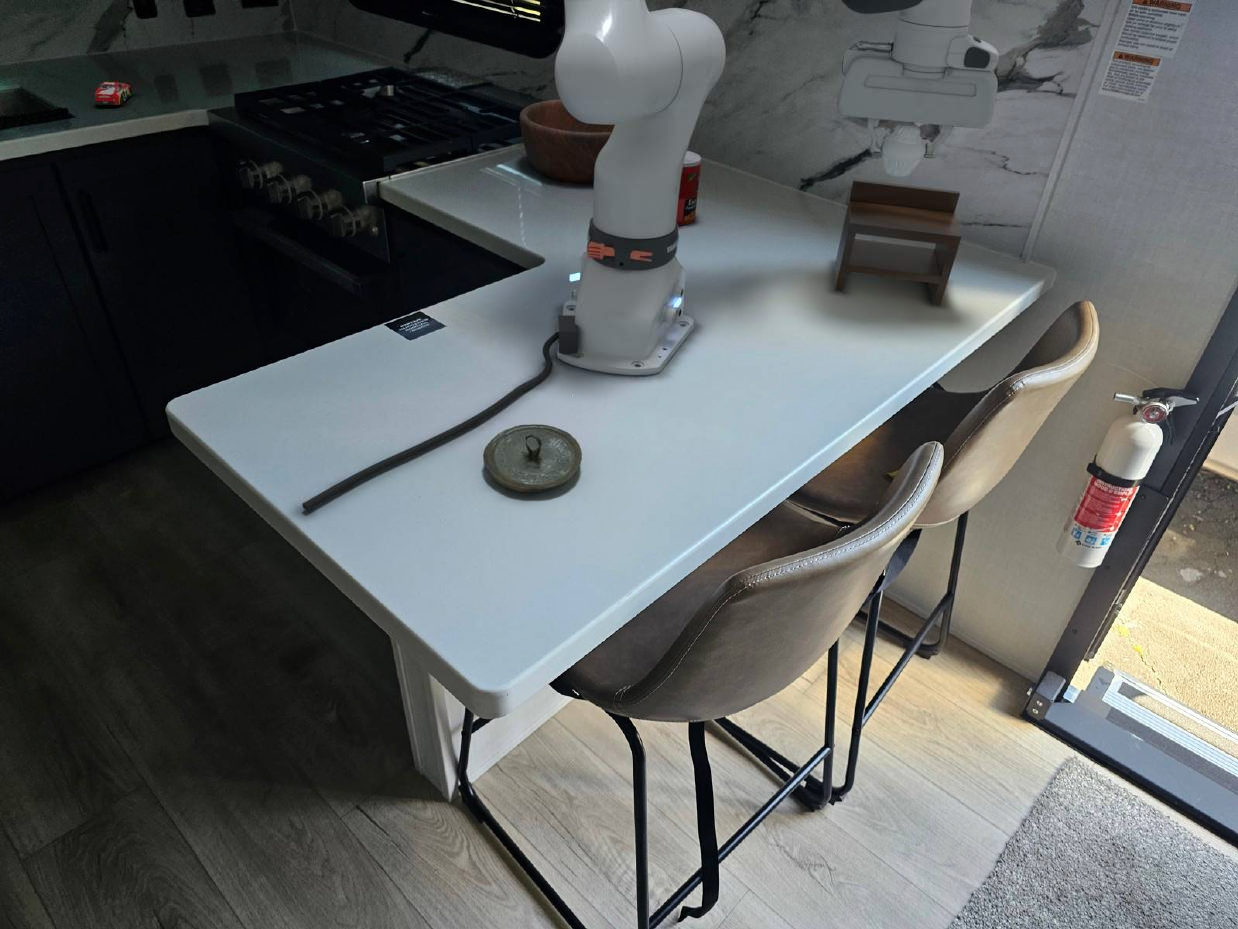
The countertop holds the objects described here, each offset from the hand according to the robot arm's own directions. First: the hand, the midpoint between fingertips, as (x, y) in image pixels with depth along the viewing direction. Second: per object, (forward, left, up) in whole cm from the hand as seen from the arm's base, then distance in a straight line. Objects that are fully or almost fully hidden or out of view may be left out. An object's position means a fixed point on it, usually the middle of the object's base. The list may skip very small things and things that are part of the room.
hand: (902, 154), depth 118 cm
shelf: (+5, -3, -22) cm, 22 cm away
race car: (+50, +167, -22) cm, 176 cm away
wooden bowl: (+43, +56, -22) cm, 74 cm away
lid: (-56, +37, -22) cm, 71 cm away
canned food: (+22, +34, -22) cm, 46 cm away
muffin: (0, 0, -3) cm, 3 cm away
